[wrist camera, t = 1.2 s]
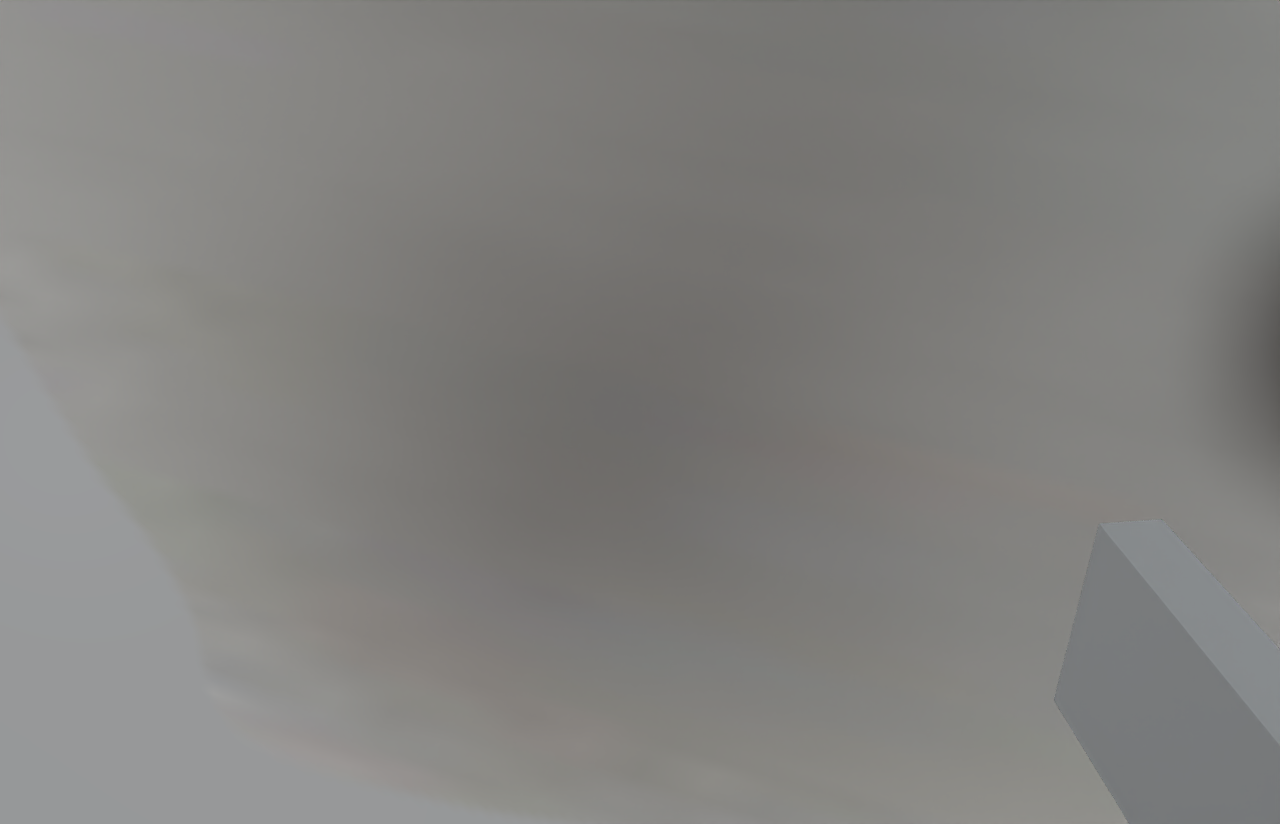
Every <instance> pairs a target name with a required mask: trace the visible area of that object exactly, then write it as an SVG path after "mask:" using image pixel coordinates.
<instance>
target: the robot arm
mask: <svg viewBox="0 0 1280 824" xmlns="http://www.w3.org/2000/svg"><path fill="white" fill-rule="evenodd" d="M1054 701H1055V703H1056V705H1057V706H1058V708H1059V710H1060V711H1061V713H1062V714H1063V716H1064V718H1065V719H1066V721H1067V723H1068V724H1069V726H1070V728H1071V729H1072V731H1073V732H1074V734H1075V736H1076V737H1077V739H1078V741H1079V742H1080V744H1081V746H1082V747H1083V749H1084V751H1085V752H1086V754H1087V755H1088V757H1089V759H1090V760H1091V762H1092V764H1093V765H1094V767H1095V769H1096V770H1097V772H1098V773H1099V775H1100V777H1101V778H1102V780H1103V782H1104V783H1105V785H1106V787H1107V788H1108V790H1109V791H1110V793H1111V795H1112V796H1113V798H1114V800H1115V801H1116V803H1117V805H1118V806H1119V808H1120V810H1121V811H1122V813H1123V814H1124V816H1125V818H1126V819H1127V821H1128V823H1129V824H1280V649H1279V648H1278V647H1277V646H1276V645H1275V644H1274V643H1273V641H1272V640H1271V639H1270V638H1269V637H1268V636H1267V635H1266V634H1265V633H1264V631H1263V630H1262V629H1261V628H1260V627H1259V626H1258V625H1257V624H1256V623H1255V622H1254V620H1253V619H1252V618H1251V617H1250V616H1249V615H1248V614H1247V613H1246V612H1245V610H1244V609H1243V608H1242V607H1241V606H1240V605H1239V604H1238V603H1237V602H1236V601H1235V599H1234V598H1233V597H1232V596H1231V595H1230V594H1229V593H1228V592H1227V591H1226V589H1225V588H1224V587H1223V586H1222V585H1221V584H1220V583H1219V582H1218V581H1217V580H1216V578H1215V577H1214V576H1213V575H1212V574H1211V573H1210V572H1209V571H1208V570H1207V568H1206V567H1205V566H1204V565H1203V564H1202V563H1201V562H1200V561H1199V560H1198V559H1197V557H1196V556H1195V555H1194V554H1193V553H1192V552H1191V551H1190V550H1189V549H1188V547H1187V546H1186V545H1185V544H1184V543H1183V542H1182V541H1181V540H1180V539H1179V538H1178V536H1177V535H1176V534H1175V533H1174V532H1173V531H1172V530H1171V529H1170V528H1169V526H1168V525H1167V524H1166V523H1165V522H1164V521H1163V520H1162V519H1158V520H1144V521H1130V522H1116V523H1102V524H1099V526H1098V530H1097V533H1096V537H1095V541H1094V545H1093V549H1092V553H1091V557H1090V561H1089V565H1088V569H1087V572H1086V576H1085V580H1084V584H1083V588H1082V592H1081V596H1080V600H1079V604H1078V608H1077V611H1076V615H1075V619H1074V623H1073V627H1072V631H1071V635H1070V639H1069V643H1068V647H1067V650H1066V654H1065V658H1064V662H1063V666H1062V670H1061V674H1060V678H1059V682H1058V686H1057V689H1056V693H1055V697H1054Z"/></svg>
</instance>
